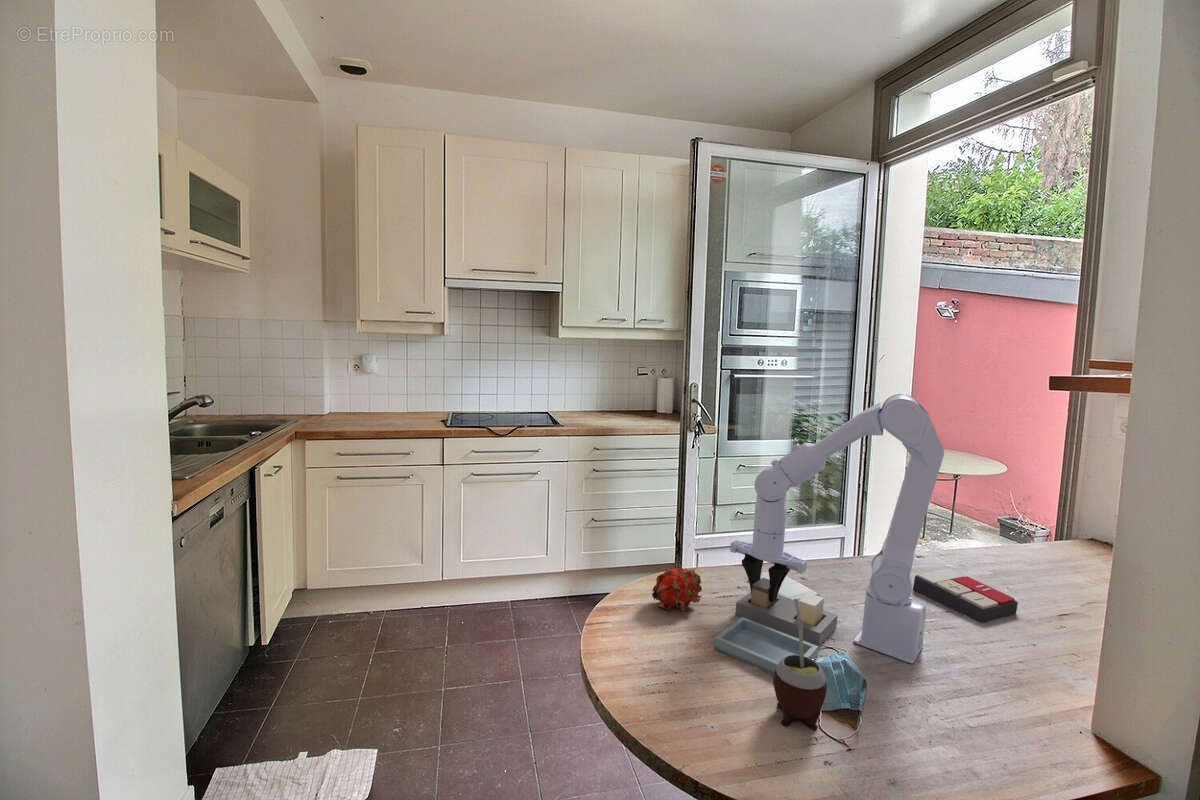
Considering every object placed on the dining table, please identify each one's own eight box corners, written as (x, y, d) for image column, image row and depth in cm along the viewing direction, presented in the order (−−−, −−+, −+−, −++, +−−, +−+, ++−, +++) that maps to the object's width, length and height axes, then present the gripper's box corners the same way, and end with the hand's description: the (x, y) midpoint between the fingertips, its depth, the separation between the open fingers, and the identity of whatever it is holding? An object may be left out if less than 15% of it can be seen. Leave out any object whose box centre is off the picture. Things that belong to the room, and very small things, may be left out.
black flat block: (984, 607, 110) (914, 572, 123) (980, 627, 110) (911, 590, 124) (1020, 598, 114) (948, 565, 128) (1016, 618, 115) (945, 583, 128)
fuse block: (836, 627, 106) (837, 615, 106) (818, 646, 100) (820, 633, 99) (756, 598, 117) (757, 587, 116) (735, 614, 110) (736, 602, 110)
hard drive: (747, 575, 125) (791, 600, 114) (775, 569, 129) (819, 592, 118) (747, 583, 125) (790, 608, 115) (775, 576, 129) (819, 600, 118)
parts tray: (817, 657, 96) (818, 646, 96) (793, 683, 89) (794, 671, 88) (741, 627, 105) (741, 616, 105) (713, 648, 98) (714, 637, 97)
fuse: (821, 628, 106) (824, 597, 105) (812, 637, 103) (815, 606, 102) (805, 622, 108) (807, 592, 107) (795, 631, 105) (798, 600, 104)
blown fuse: (774, 611, 112) (777, 582, 111) (764, 619, 108) (767, 589, 108) (760, 606, 114) (762, 577, 113) (750, 614, 110) (752, 584, 110)
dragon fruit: (703, 607, 116) (656, 630, 109) (679, 572, 120) (633, 592, 114) (719, 586, 110) (671, 609, 104) (694, 550, 115) (646, 570, 108)
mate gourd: (803, 742, 76) (813, 636, 74) (755, 709, 82) (763, 610, 81) (835, 721, 81) (845, 620, 79) (787, 691, 87) (795, 597, 85)
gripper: (814, 534, 107) (808, 602, 109) (743, 515, 117) (739, 578, 118) (800, 543, 102) (794, 615, 104) (727, 523, 111) (722, 589, 113)
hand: (763, 597), depth 111 cm, fingers closed on blown fuse, 3 cm apart
